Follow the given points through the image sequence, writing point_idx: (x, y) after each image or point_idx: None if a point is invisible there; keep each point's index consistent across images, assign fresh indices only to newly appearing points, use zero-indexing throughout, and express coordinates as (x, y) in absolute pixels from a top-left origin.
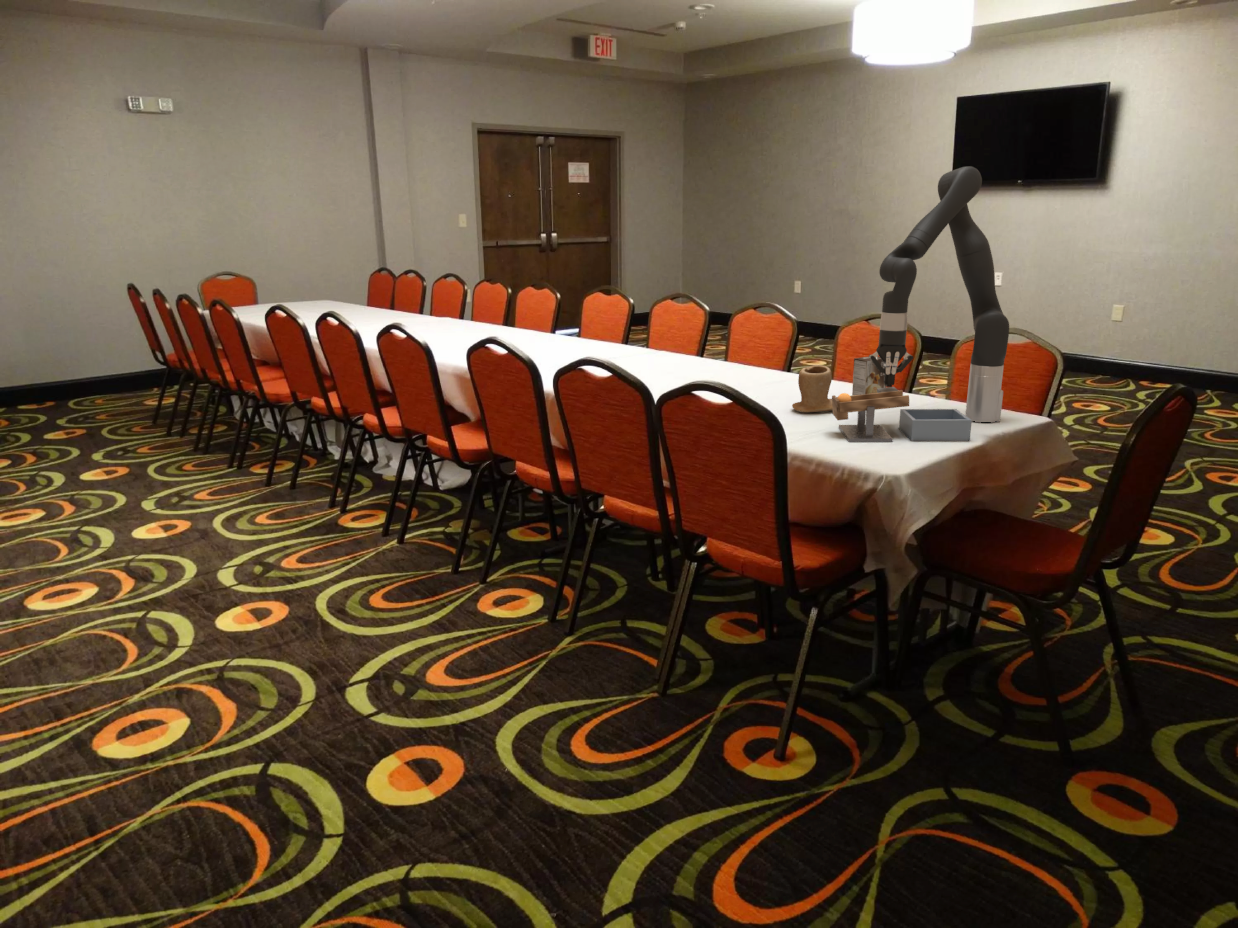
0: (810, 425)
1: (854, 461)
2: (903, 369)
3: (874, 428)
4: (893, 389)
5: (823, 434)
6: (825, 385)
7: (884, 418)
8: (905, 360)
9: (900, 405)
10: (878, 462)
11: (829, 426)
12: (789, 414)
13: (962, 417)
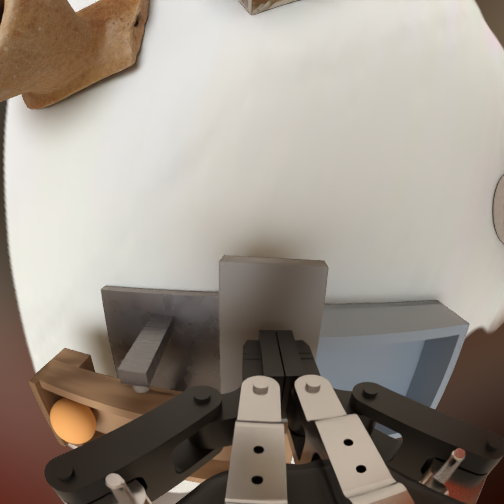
0: (41, 247)
1: None
2: (378, 439)
3: (203, 342)
4: (300, 336)
5: (73, 343)
6: (25, 79)
7: (288, 150)
8: (419, 478)
9: None
10: (181, 490)
11: (83, 262)
12: (14, 115)
13: (430, 400)
